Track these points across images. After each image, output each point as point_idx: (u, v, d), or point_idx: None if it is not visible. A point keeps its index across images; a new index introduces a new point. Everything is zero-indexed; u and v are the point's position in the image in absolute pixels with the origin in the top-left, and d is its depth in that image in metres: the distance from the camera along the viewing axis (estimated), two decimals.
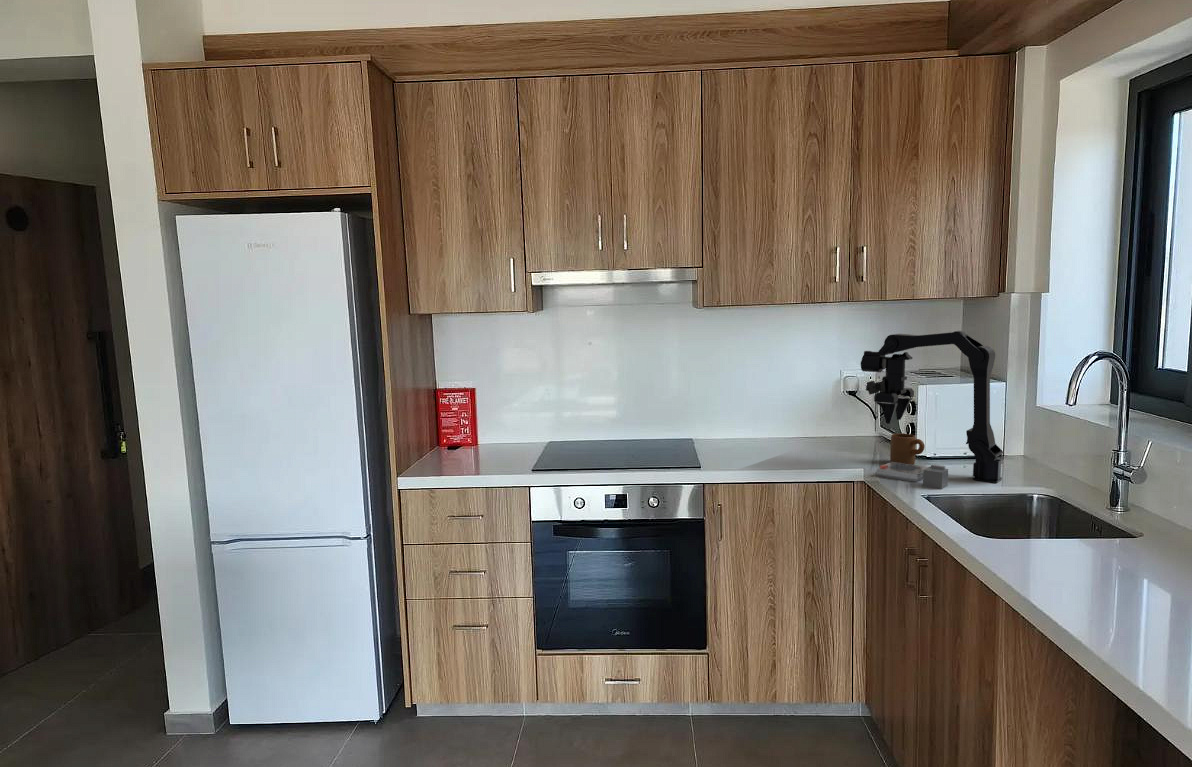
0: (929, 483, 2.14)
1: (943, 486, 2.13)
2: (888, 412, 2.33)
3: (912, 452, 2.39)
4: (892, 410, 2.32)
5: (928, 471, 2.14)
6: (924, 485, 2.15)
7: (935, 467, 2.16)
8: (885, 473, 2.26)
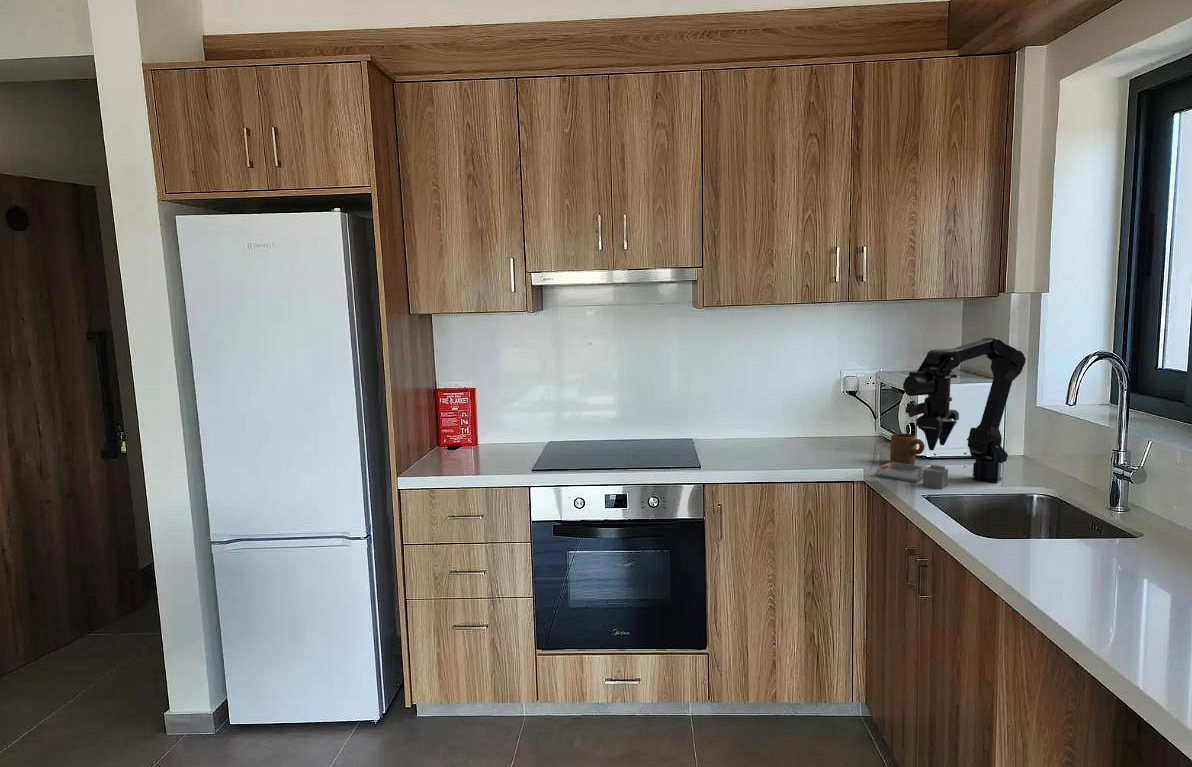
0: (929, 483, 2.14)
1: (943, 486, 2.13)
2: (932, 438, 2.09)
3: (912, 452, 2.39)
4: (936, 436, 2.08)
5: (928, 471, 2.14)
6: (924, 485, 2.15)
7: (935, 467, 2.16)
8: (885, 473, 2.26)
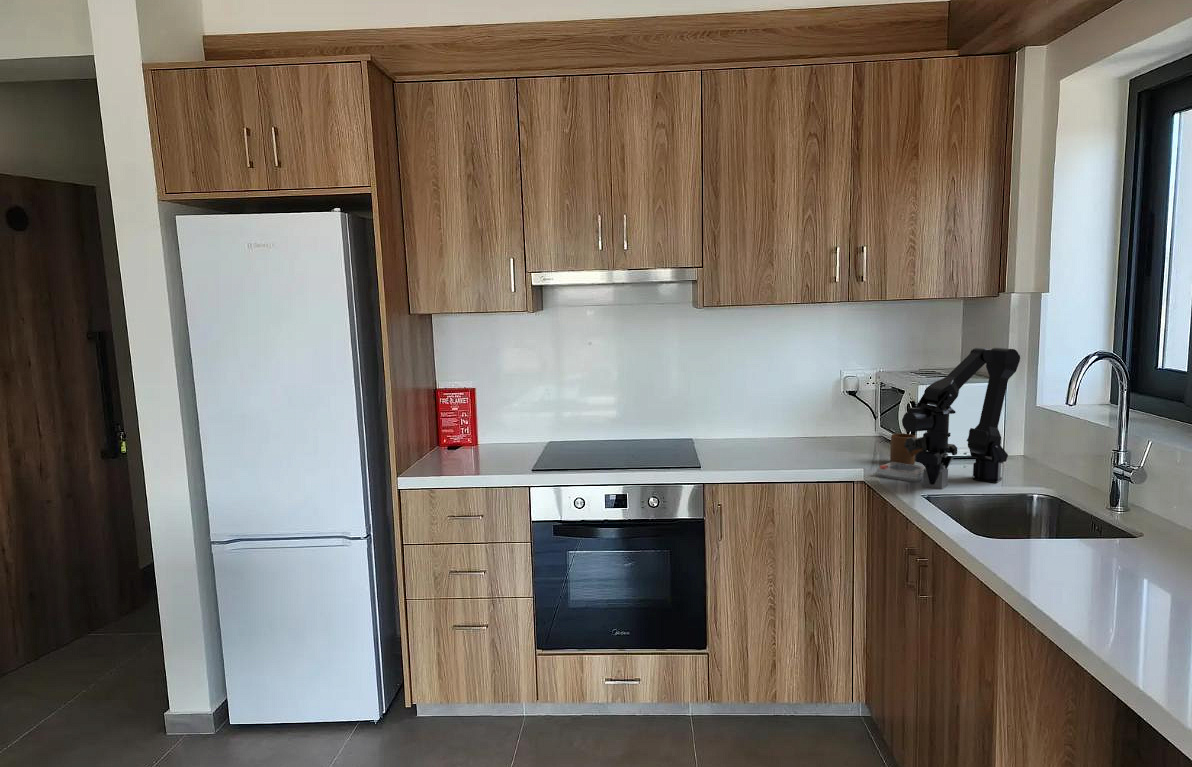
0: (929, 482, 2.14)
1: (943, 486, 2.13)
2: (932, 472, 2.11)
3: (912, 452, 2.39)
4: (937, 470, 2.10)
5: None
6: (924, 485, 2.15)
7: None
8: (885, 473, 2.26)
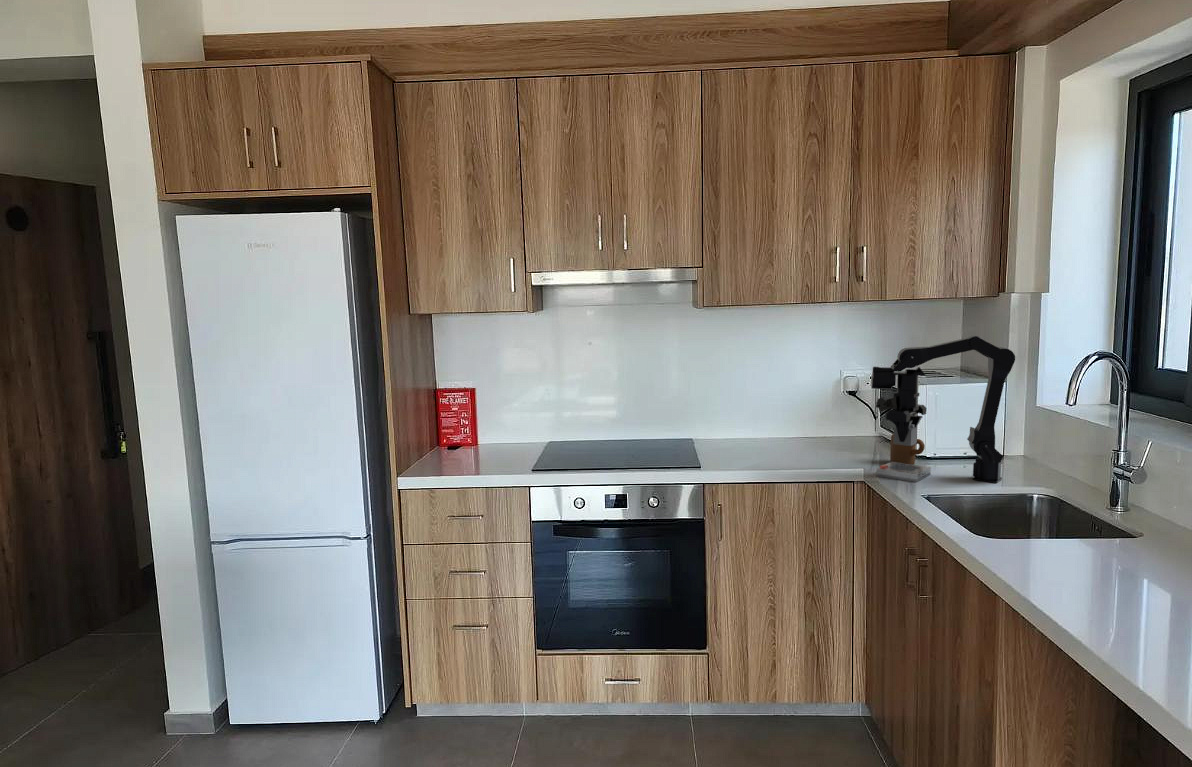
0: (899, 440, 2.25)
1: (912, 443, 2.24)
2: (902, 430, 2.23)
3: (912, 452, 2.39)
4: (906, 428, 2.21)
5: None
6: (894, 442, 2.26)
7: None
8: (885, 473, 2.26)
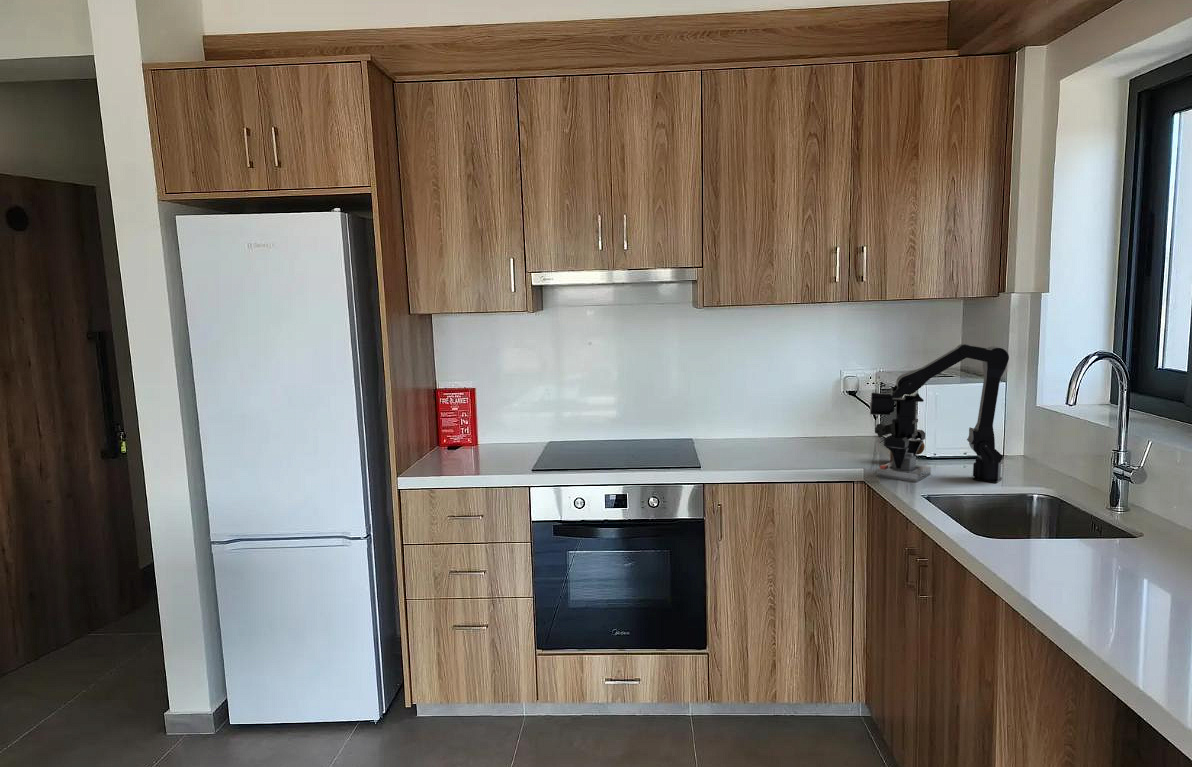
0: (898, 469, 2.26)
1: None
2: (898, 457, 2.23)
3: None
4: (903, 455, 2.21)
5: None
6: None
7: None
8: (885, 473, 2.26)
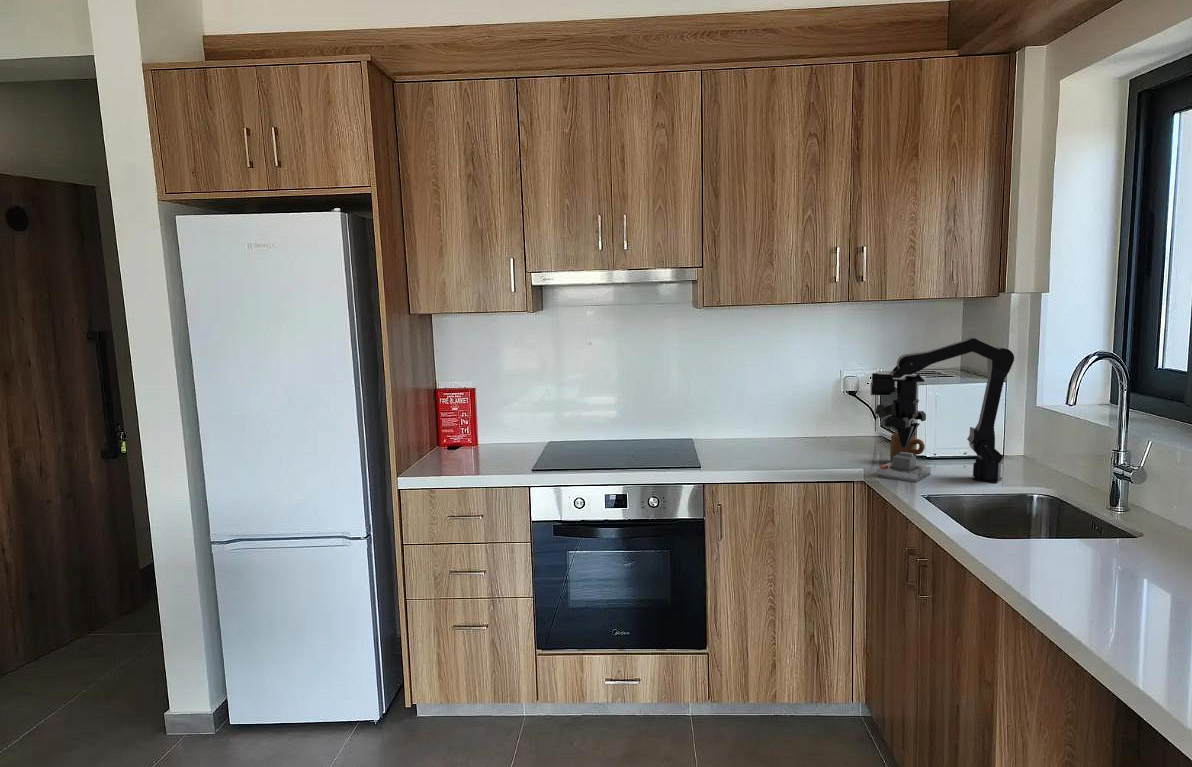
0: (898, 469, 2.26)
1: None
2: (904, 435, 2.25)
3: (912, 452, 2.39)
4: (908, 433, 2.23)
5: (897, 458, 2.26)
6: None
7: (904, 454, 2.28)
8: (885, 473, 2.26)
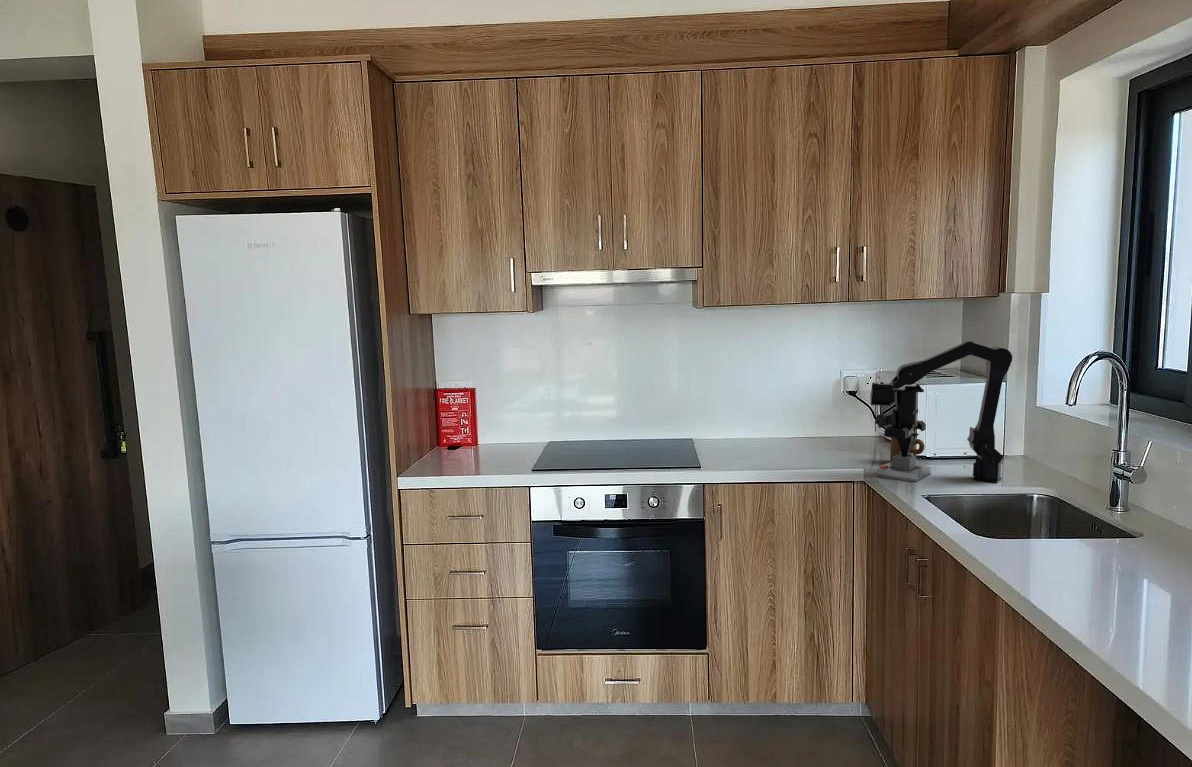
0: (898, 469, 2.26)
1: None
2: (904, 445, 2.26)
3: (912, 452, 2.39)
4: (908, 443, 2.24)
5: (897, 458, 2.26)
6: None
7: None
8: (885, 473, 2.26)
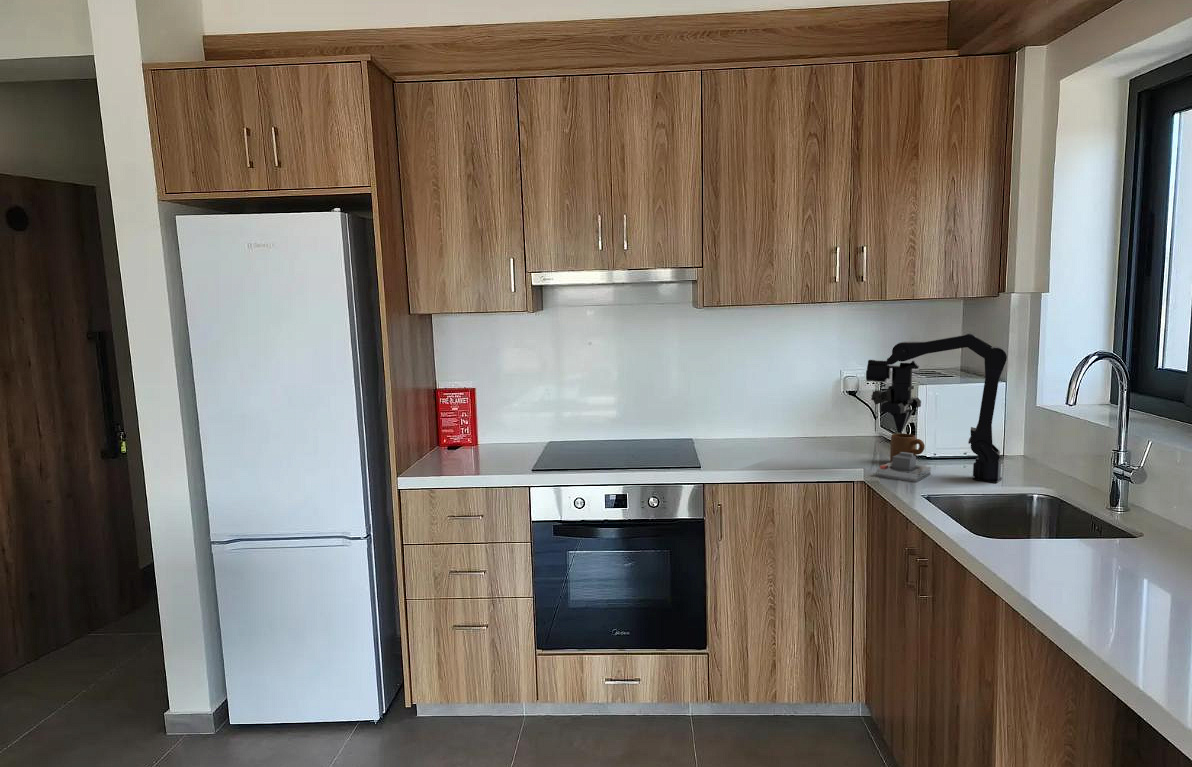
0: (898, 469, 2.26)
1: None
2: (900, 421, 2.30)
3: (912, 452, 2.39)
4: (904, 419, 2.28)
5: (897, 458, 2.26)
6: None
7: (904, 454, 2.28)
8: (885, 473, 2.26)
